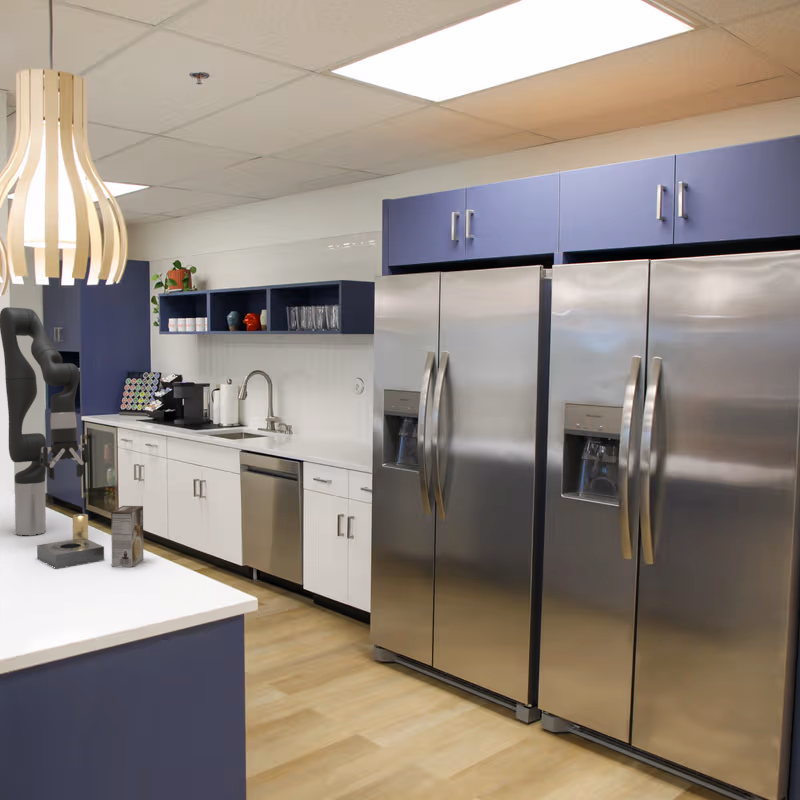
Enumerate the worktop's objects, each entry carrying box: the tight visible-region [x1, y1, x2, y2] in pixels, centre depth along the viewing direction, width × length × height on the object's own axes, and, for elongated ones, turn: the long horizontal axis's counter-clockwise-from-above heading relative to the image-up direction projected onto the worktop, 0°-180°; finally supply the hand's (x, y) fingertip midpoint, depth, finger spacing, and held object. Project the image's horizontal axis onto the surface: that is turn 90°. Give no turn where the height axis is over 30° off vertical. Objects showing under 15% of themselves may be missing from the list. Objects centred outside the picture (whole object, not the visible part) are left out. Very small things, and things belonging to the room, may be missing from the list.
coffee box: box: [110, 505, 144, 568], centre depth 233 cm, size 9×6×16 cm
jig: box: [36, 538, 105, 569], centre depth 235 cm, size 14×14×4 cm
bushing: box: [72, 513, 89, 540], centre depth 249 cm, size 4×4×10 cm
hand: (65, 478), depth 251 cm, fingers open, 8 cm apart
